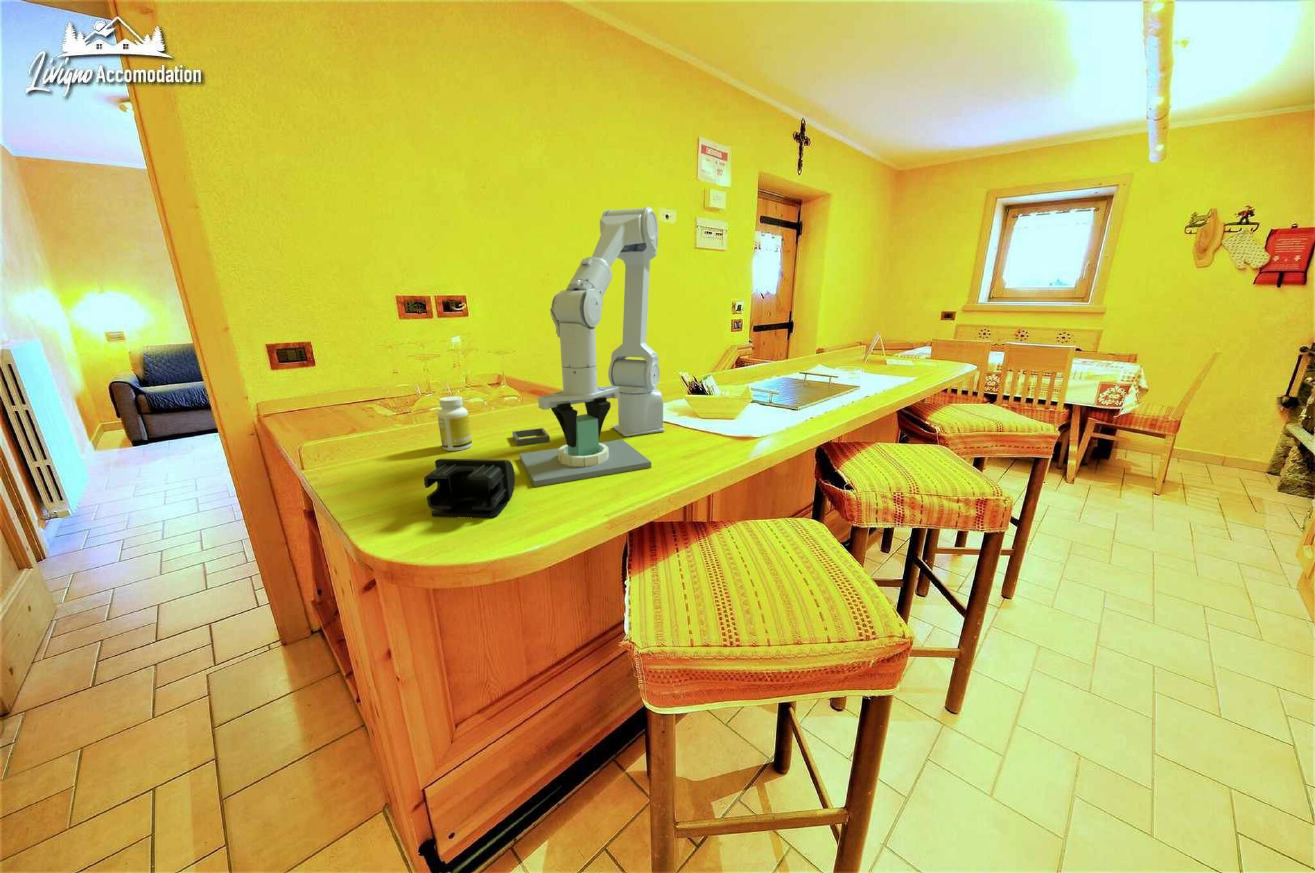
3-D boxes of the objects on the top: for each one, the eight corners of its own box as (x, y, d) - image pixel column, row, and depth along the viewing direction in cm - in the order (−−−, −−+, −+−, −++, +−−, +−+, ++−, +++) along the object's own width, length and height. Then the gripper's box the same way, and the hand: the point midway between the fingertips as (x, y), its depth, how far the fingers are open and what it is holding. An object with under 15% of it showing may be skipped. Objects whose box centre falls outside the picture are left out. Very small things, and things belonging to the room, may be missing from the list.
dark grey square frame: (543, 433, 98) (542, 427, 98) (549, 441, 92) (549, 436, 92) (512, 437, 95) (512, 431, 95) (517, 445, 90) (517, 440, 89)
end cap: (517, 496, 68) (513, 453, 66) (499, 519, 61) (494, 472, 59) (451, 495, 68) (445, 452, 66) (426, 517, 61) (418, 470, 59)
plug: (587, 451, 83) (586, 414, 81) (599, 457, 80) (597, 418, 78) (568, 455, 81) (565, 417, 79) (579, 461, 78) (577, 422, 76)
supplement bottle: (477, 443, 91) (471, 395, 88) (463, 452, 86) (456, 401, 83) (451, 442, 92) (444, 395, 89) (436, 451, 87) (429, 401, 84)
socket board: (622, 444, 91) (622, 431, 90) (651, 467, 79) (651, 453, 78) (519, 458, 83) (518, 445, 82) (534, 487, 71) (533, 471, 70)
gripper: (603, 359, 83) (606, 430, 87) (527, 366, 74) (534, 445, 78) (625, 363, 78) (627, 439, 82) (546, 372, 69) (552, 456, 73)
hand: (583, 443), depth 80 cm, fingers closed on plug, 4 cm apart
